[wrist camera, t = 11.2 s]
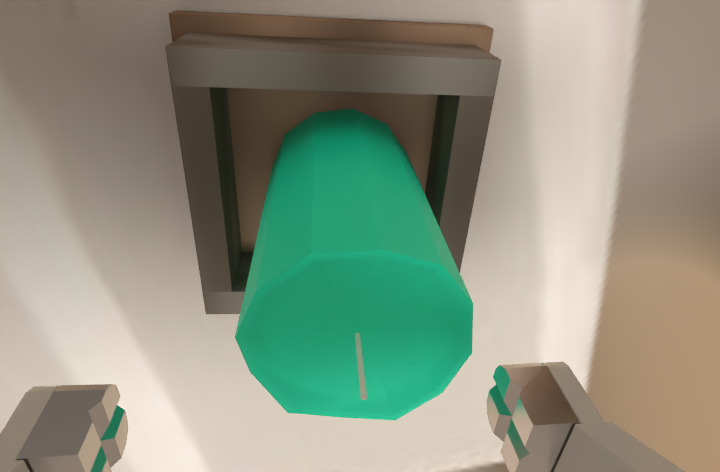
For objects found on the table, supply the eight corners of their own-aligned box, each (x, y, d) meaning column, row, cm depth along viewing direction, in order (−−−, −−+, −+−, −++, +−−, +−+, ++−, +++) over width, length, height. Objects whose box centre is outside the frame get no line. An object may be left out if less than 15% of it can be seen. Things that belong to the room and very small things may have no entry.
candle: (278, 97, 19) (229, 273, 8) (423, 119, 20) (539, 303, 9) (266, 226, 22) (219, 474, 11) (393, 241, 22) (455, 482, 12)
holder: (211, 271, 24) (193, 324, 20) (175, 10, 18) (141, 24, 14) (443, 271, 25) (462, 321, 21) (485, 25, 19) (522, 41, 15)
